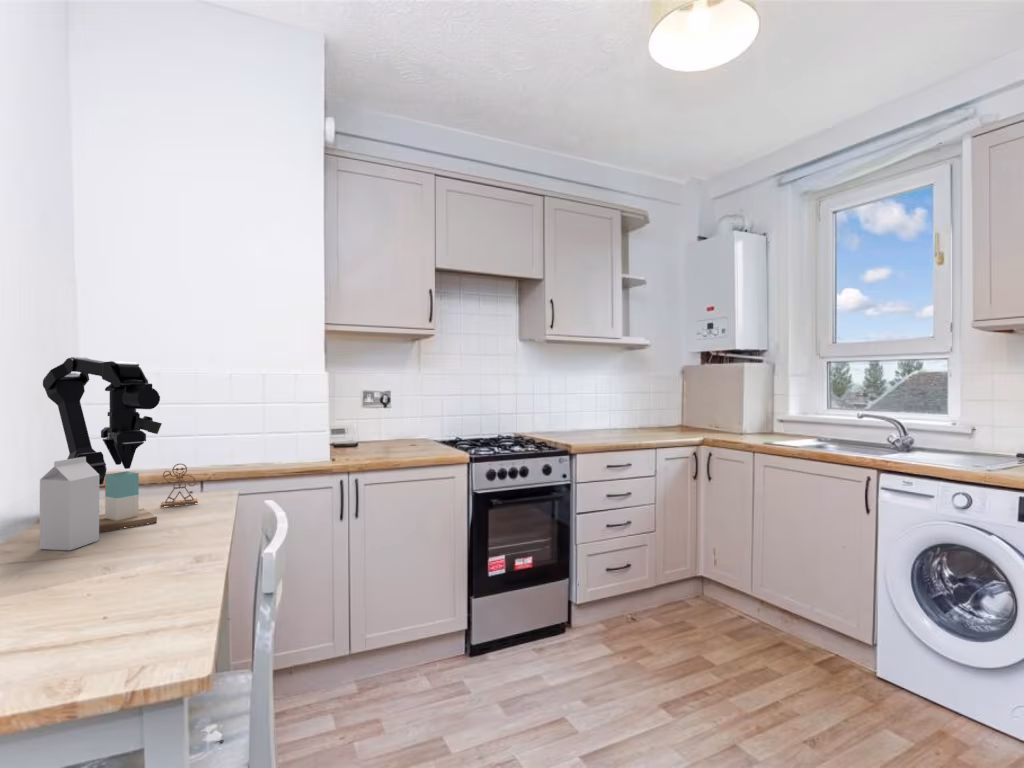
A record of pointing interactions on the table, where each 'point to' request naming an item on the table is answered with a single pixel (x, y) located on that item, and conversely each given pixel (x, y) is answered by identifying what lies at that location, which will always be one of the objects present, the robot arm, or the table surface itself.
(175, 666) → the table surface
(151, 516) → the board
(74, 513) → the milk carton
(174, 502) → the gingerbread man figurine
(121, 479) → the block
